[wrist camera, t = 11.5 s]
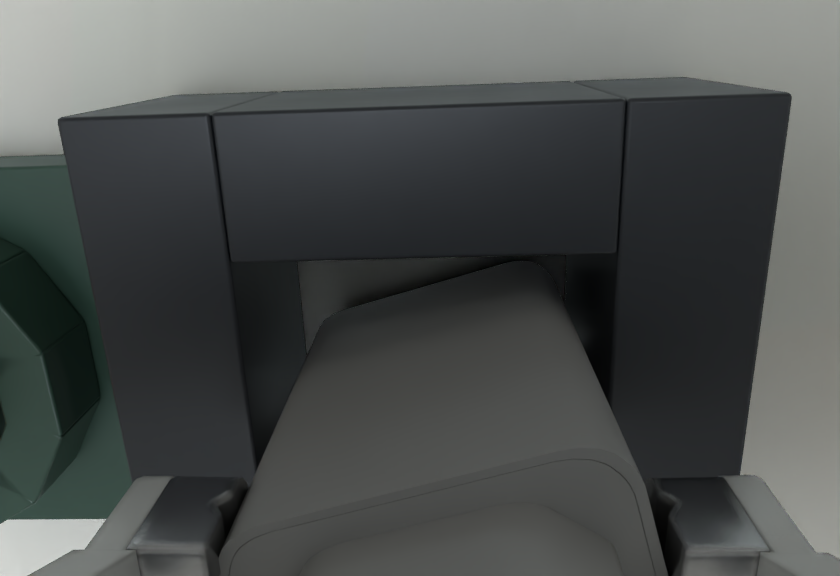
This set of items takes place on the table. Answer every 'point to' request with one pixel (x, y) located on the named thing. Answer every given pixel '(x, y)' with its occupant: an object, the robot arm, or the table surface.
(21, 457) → the switch box
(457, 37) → the table surface
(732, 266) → the grey square frame
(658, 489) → the robot arm
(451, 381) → the power adapter
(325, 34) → the table surface
